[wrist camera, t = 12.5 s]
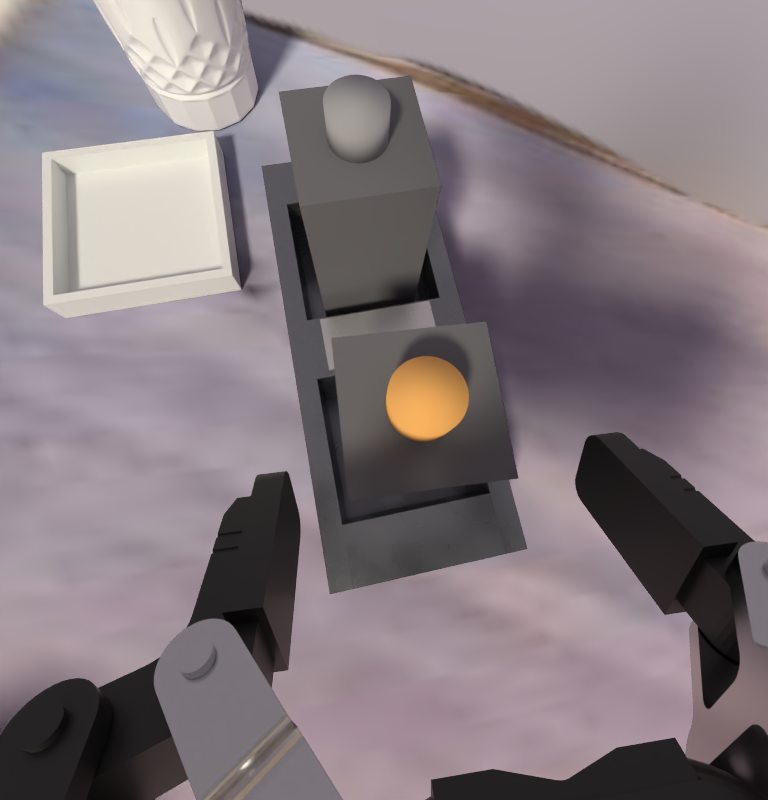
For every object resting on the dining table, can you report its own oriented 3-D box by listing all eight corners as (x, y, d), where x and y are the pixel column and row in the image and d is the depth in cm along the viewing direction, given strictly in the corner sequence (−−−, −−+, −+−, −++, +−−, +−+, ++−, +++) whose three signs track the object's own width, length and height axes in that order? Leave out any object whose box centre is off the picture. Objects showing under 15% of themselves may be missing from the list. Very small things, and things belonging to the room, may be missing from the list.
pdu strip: (339, 568, 20) (329, 596, 15) (283, 231, 24) (260, 161, 19) (489, 535, 20) (530, 550, 15) (408, 212, 25) (418, 139, 20)
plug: (358, 496, 20) (345, 502, 9) (348, 410, 21) (326, 319, 10) (445, 484, 20) (537, 476, 9) (431, 400, 21) (499, 301, 10)
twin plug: (330, 334, 22) (292, 175, 11) (317, 264, 23) (269, 51, 12) (409, 321, 22) (449, 153, 11) (392, 251, 23) (414, 35, 12)
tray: (66, 318, 22) (43, 304, 21) (62, 174, 24) (42, 152, 23) (241, 289, 23) (232, 275, 22) (223, 153, 25) (213, 131, 24)
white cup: (291, 96, 27) (246, -131, 17) (198, 160, 25) (91, -48, 15) (218, 31, 28) (136, -218, 18) (125, 89, 26) (-18, -148, 17)
